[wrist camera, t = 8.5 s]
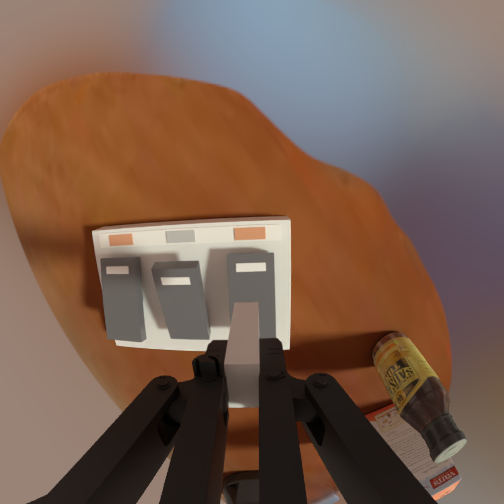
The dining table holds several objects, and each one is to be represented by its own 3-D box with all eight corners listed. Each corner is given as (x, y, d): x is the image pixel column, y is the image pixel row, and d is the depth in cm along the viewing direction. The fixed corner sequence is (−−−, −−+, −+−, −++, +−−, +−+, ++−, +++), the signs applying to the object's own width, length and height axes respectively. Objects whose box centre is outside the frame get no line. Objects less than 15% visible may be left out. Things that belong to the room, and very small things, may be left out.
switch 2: (275, 339, 28) (276, 344, 26) (232, 340, 28) (231, 345, 26) (273, 252, 27) (273, 252, 26) (228, 253, 28) (227, 254, 26)
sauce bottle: (379, 328, 33) (452, 433, 14) (413, 330, 34) (489, 421, 14) (362, 366, 35) (414, 474, 16) (396, 367, 35) (454, 461, 16)
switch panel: (287, 336, 34) (290, 355, 30) (125, 334, 34) (112, 350, 30) (287, 215, 30) (291, 221, 26) (104, 226, 30) (86, 233, 26)
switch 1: (146, 338, 28) (141, 342, 26) (113, 335, 28) (107, 339, 26) (140, 256, 28) (134, 257, 26) (106, 258, 28) (99, 258, 26)
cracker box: (342, 439, 40) (367, 531, 19) (338, 422, 38) (366, 524, 18) (411, 411, 38) (454, 492, 18) (412, 392, 37) (463, 479, 17)
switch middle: (210, 331, 30) (209, 340, 28) (173, 330, 30) (170, 339, 29) (198, 260, 26) (196, 268, 24) (155, 261, 26) (150, 269, 24)
